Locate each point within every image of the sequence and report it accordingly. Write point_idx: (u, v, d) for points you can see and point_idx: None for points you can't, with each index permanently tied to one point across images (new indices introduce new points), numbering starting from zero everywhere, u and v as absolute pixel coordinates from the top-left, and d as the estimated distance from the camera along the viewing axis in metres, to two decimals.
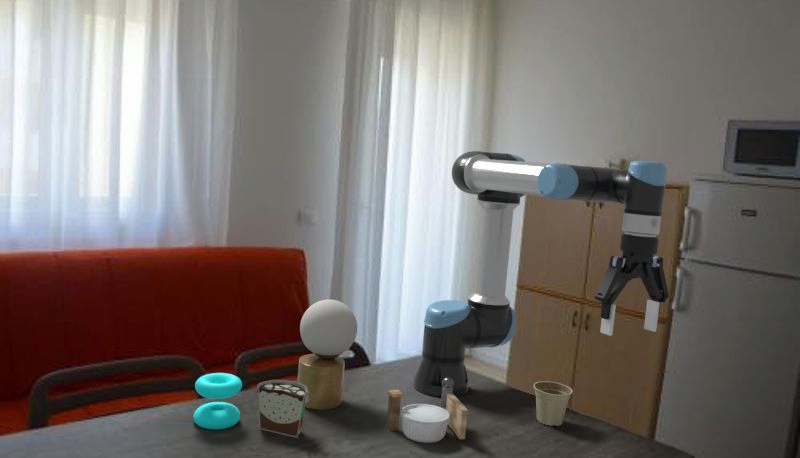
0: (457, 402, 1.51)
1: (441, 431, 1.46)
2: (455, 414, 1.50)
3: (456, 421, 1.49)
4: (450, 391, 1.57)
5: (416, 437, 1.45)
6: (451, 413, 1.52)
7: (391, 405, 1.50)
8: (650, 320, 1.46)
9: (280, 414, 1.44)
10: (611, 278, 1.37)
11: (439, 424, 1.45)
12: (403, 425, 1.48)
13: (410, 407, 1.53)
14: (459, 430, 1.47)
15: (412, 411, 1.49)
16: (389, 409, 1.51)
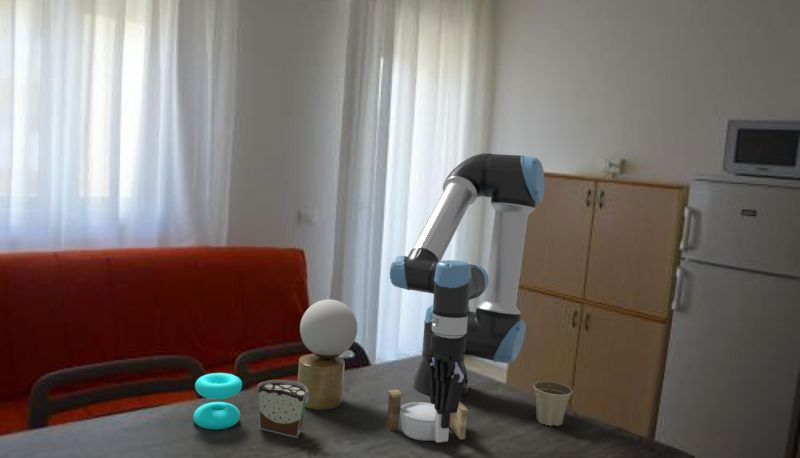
0: None
1: None
2: (455, 414, 1.50)
3: (456, 421, 1.49)
4: None
5: (416, 435, 1.46)
6: (451, 413, 1.52)
7: (391, 405, 1.50)
8: None
9: (280, 414, 1.44)
10: None
11: None
12: (402, 423, 1.48)
13: (409, 405, 1.54)
14: (459, 430, 1.47)
15: (411, 409, 1.50)
16: (389, 409, 1.51)
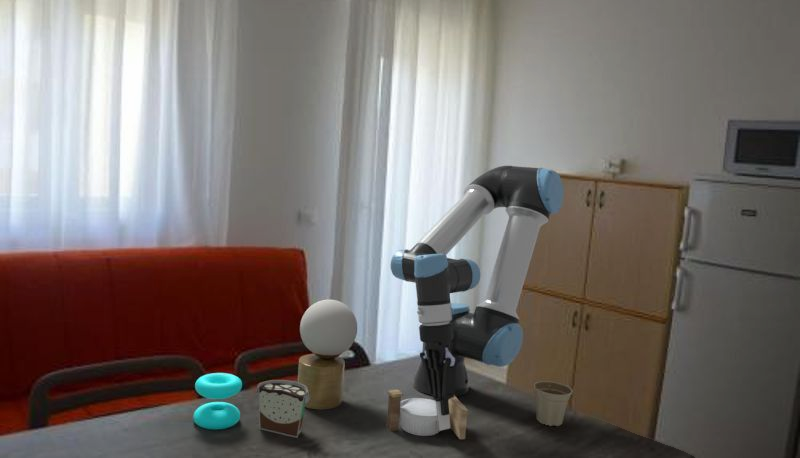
0: (457, 402, 1.51)
1: None
2: (455, 414, 1.50)
3: (456, 421, 1.49)
4: None
5: (422, 432, 1.48)
6: (451, 413, 1.52)
7: (391, 405, 1.50)
8: None
9: (280, 414, 1.44)
10: None
11: None
12: (405, 422, 1.49)
13: (402, 403, 1.55)
14: (459, 430, 1.47)
15: (411, 407, 1.51)
16: (389, 409, 1.51)
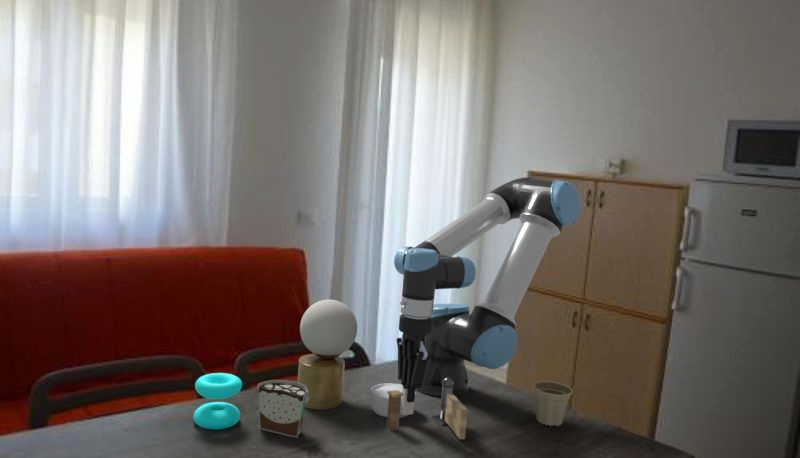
0: (457, 402, 1.51)
1: None
2: (455, 414, 1.50)
3: (456, 421, 1.49)
4: (450, 391, 1.57)
5: None
6: (451, 413, 1.52)
7: (391, 405, 1.50)
8: None
9: (280, 414, 1.44)
10: None
11: None
12: (375, 404, 1.58)
13: (376, 387, 1.64)
14: (459, 430, 1.47)
15: (381, 391, 1.60)
16: (389, 409, 1.51)
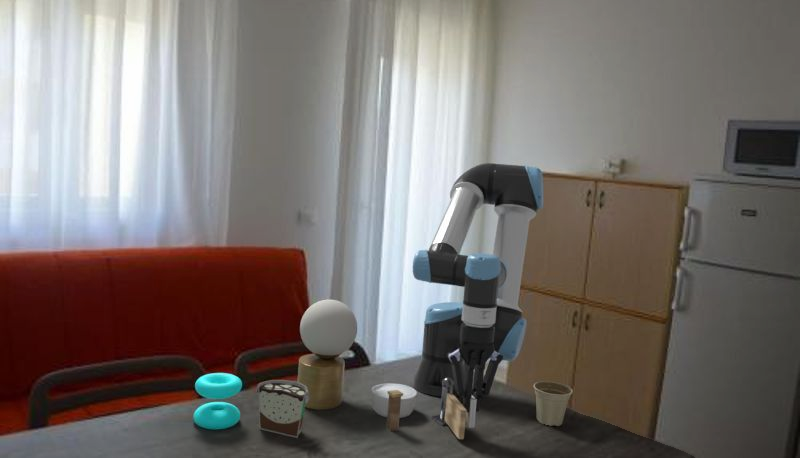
0: (456, 402, 1.51)
1: (412, 406, 1.60)
2: (454, 414, 1.50)
3: (455, 421, 1.49)
4: (450, 391, 1.57)
5: None
6: (451, 413, 1.52)
7: (391, 405, 1.50)
8: None
9: (280, 414, 1.44)
10: (455, 375, 1.48)
11: (412, 399, 1.58)
12: (377, 405, 1.58)
13: (376, 388, 1.64)
14: (458, 430, 1.47)
15: (383, 391, 1.60)
16: (389, 409, 1.51)
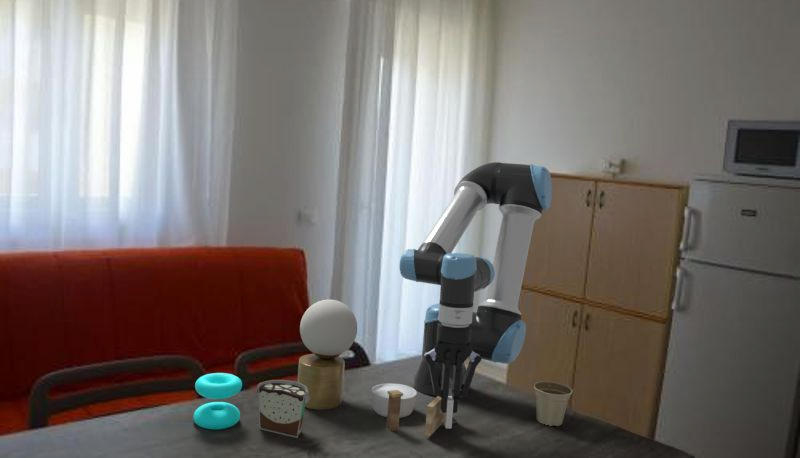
0: (436, 400, 1.51)
1: (412, 406, 1.60)
2: None
3: None
4: (450, 391, 1.57)
5: None
6: None
7: (391, 405, 1.50)
8: None
9: (280, 414, 1.44)
10: (431, 375, 1.47)
11: (412, 399, 1.58)
12: (377, 405, 1.58)
13: (376, 388, 1.64)
14: None
15: (383, 391, 1.60)
16: (389, 409, 1.51)
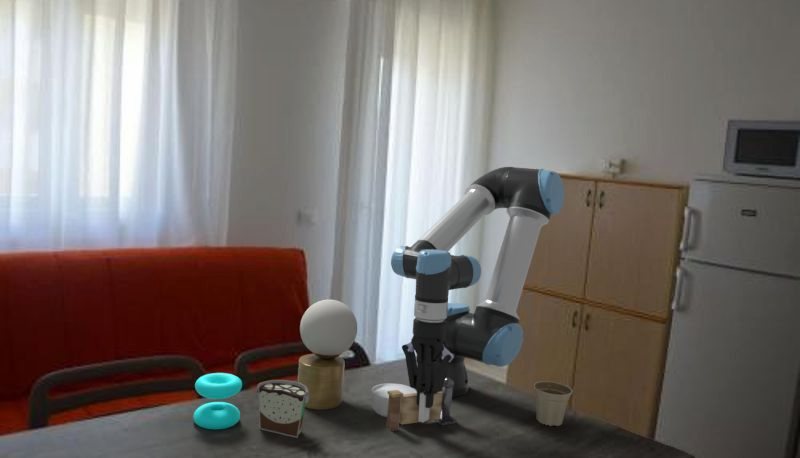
0: None
1: None
2: None
3: None
4: (450, 391, 1.57)
5: None
6: None
7: (391, 405, 1.50)
8: None
9: (280, 414, 1.44)
10: None
11: None
12: (377, 405, 1.58)
13: (376, 388, 1.64)
14: None
15: (383, 391, 1.60)
16: (389, 409, 1.51)
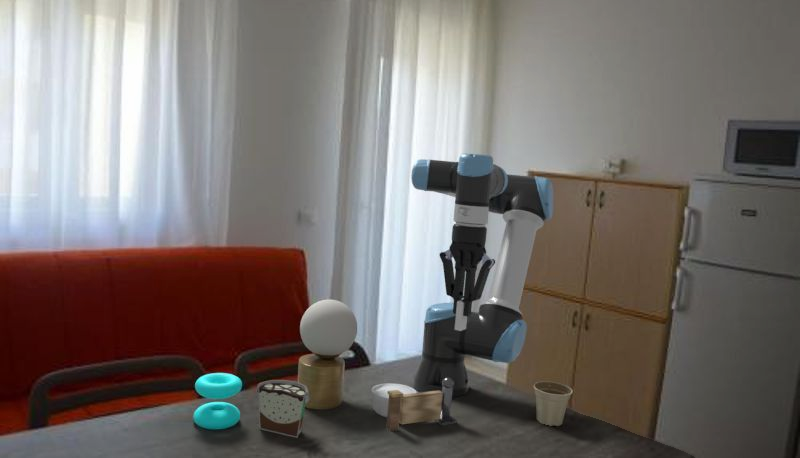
0: (419, 393, 1.54)
1: None
2: None
3: None
4: (450, 391, 1.57)
5: None
6: None
7: (391, 405, 1.50)
8: None
9: (280, 414, 1.44)
10: None
11: None
12: (377, 405, 1.58)
13: (376, 388, 1.64)
14: None
15: (383, 391, 1.60)
16: (389, 409, 1.51)
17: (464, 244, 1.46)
